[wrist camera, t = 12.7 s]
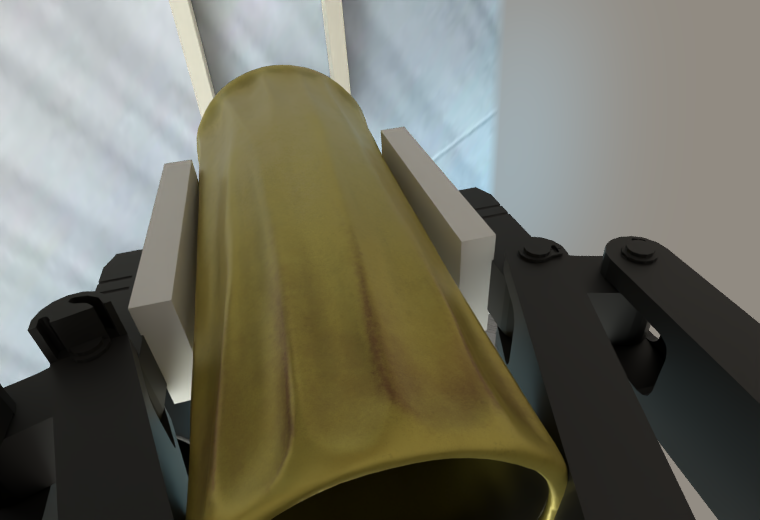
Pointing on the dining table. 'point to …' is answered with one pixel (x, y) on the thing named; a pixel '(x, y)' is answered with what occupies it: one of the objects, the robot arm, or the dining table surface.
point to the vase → (339, 334)
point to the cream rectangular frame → (198, 63)
